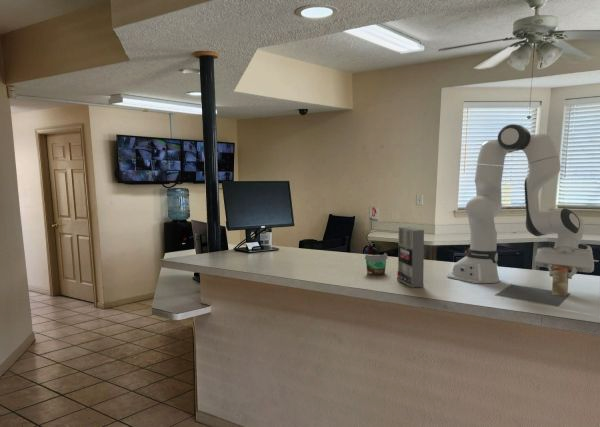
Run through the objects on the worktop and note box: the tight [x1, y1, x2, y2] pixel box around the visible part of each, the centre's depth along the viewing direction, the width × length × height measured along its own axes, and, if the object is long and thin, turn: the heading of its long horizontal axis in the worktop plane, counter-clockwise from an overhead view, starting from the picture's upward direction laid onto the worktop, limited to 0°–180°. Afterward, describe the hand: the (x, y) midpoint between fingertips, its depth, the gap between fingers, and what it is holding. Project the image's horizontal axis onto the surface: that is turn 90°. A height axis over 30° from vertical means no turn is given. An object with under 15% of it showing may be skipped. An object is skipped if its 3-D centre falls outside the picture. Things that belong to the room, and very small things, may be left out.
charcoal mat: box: [494, 284, 571, 307], centre depth 163 cm, size 22×22×1 cm
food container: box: [364, 252, 389, 277], centre depth 202 cm, size 12×6×10 cm, turn 114°
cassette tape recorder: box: [396, 226, 425, 289], centre depth 183 cm, size 14×6×25 cm, turn 13°
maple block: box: [551, 266, 570, 296], centre depth 163 cm, size 4×4×11 cm
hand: (560, 276), depth 162 cm, fingers closed on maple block, 4 cm apart
